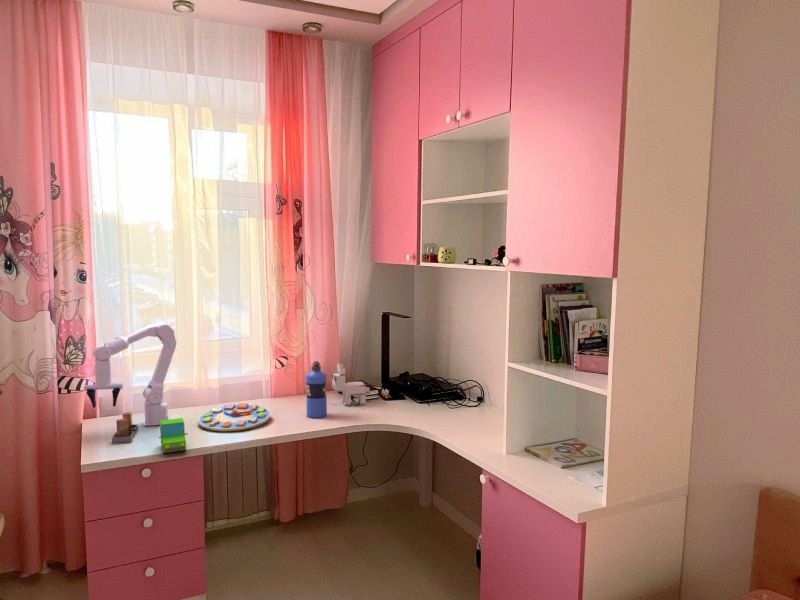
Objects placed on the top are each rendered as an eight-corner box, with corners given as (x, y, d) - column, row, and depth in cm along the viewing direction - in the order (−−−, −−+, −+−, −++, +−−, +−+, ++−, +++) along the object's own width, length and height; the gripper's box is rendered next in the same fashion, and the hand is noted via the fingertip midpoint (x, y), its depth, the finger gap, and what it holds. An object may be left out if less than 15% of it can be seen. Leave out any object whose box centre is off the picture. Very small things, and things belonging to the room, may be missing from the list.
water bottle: (325, 412, 282) (324, 359, 280) (328, 417, 273) (327, 362, 271) (305, 413, 279) (304, 360, 277) (307, 419, 270) (306, 364, 268)
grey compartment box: (138, 429, 255) (137, 410, 254) (131, 442, 239) (130, 421, 238) (120, 431, 253) (119, 411, 253) (111, 443, 237) (111, 423, 236)
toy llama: (370, 404, 296) (370, 363, 294) (335, 407, 291) (334, 365, 289) (367, 400, 303) (367, 361, 301) (332, 403, 298) (332, 363, 297)
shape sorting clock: (186, 433, 252) (186, 418, 251) (212, 413, 282) (212, 400, 282) (259, 434, 250) (259, 419, 250) (277, 413, 281) (277, 400, 280)
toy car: (160, 456, 223) (159, 430, 222) (158, 446, 235) (157, 420, 234) (189, 452, 227) (188, 426, 226) (185, 442, 239) (185, 417, 238)
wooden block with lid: (128, 436, 242) (127, 419, 241) (121, 438, 239) (120, 421, 239) (123, 435, 244) (123, 418, 243) (116, 437, 241) (115, 419, 241)
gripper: (123, 371, 257) (125, 403, 258) (86, 373, 253) (87, 405, 254) (120, 374, 250) (122, 407, 251) (81, 376, 246) (83, 409, 248)
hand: (104, 406), depth 252 cm, fingers open, 7 cm apart
